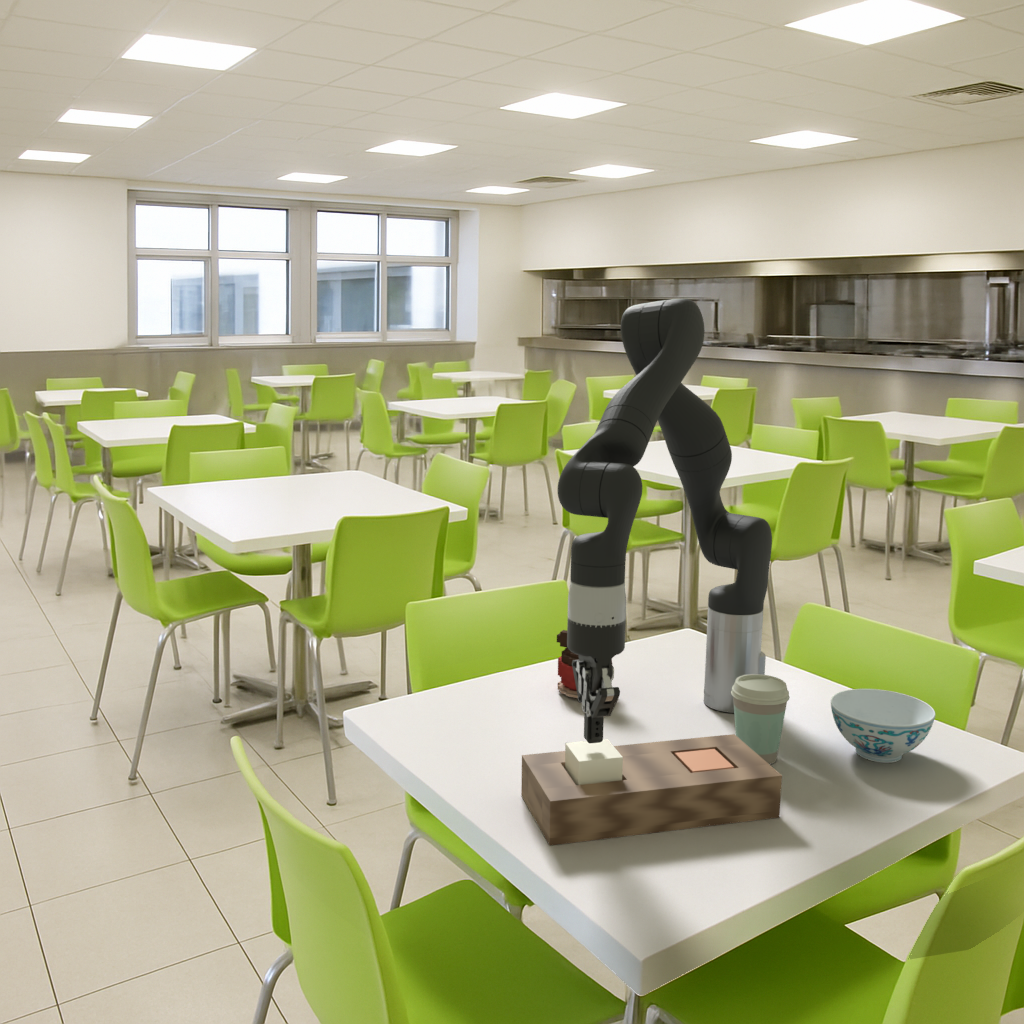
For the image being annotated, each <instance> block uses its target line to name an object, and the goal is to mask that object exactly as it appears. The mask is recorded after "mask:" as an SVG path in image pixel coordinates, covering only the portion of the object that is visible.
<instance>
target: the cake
mask: <svg viewBox="0 0 1024 1024" xmlns="http://www.w3.org/2000/svg"><path fill="white" fill-rule="evenodd" d="M556 643H559V647H562V648H564V649H563V650H561V655H560V656H559V657H558V658H557V676H559V678H560V681H558V682H557V690H558V691H559V692H560V693H561V694H564V695H565V696H566V697H571V698H574V699H575V698H576V699H578V695H577V690H576V684H575V678H574V673H573V667H572V661H573V660H579V655H577V654H575V653H573V652H571V651H570V650H569V649H568V647H567V629H566V630H565V629H563V630H561V631H560V632H559V633H557V634H556ZM611 661H612V662H613V659H612V660H611Z"/></svg>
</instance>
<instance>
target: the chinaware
mask: <svg viewBox="0 0 1024 1024" xmlns="http://www.w3.org/2000/svg"><path fill="white" fill-rule="evenodd" d="M830 707H831V713H832V717H833V720H834V723H835V726H836V728H837V729H838V731H839V733H840V734H841V735H842V737H843V738H844V739H845V740H846V741H847V743H849V744H850V745H851V746H852V747H854V748H855V753H856V752H857V753H856V754H857V755H858V756H859V755H860V756H859V757H861V758H863V759H865V760H867V759H868V761H872V762H876V763H886V764H887V763H888V764H890V763H891V764H892V763H895V762H898V761H901V760H902V758H903V755H905V754H908V753H909V752H911V751H913V750H914V749H916V748H917V747H918V746H919V745H921V744H922V743H923V742H924V741H925V739H926V738H927V736H928V735H929V733H930V732H931V729H932V727H933V725H934V721H935V719H936V711H935V709H934V708H933V707H932V706H931V705H930V704H929V703H927V702H925V701H923V700H921V699H919V698H917V697H915V696H911V695H908V694H905V693H902V692H897V691H892V690H885V689H878V688H855V689H847V690H843V691H839V692H837V693H835V694H833V696H832V697H831V698H830Z"/></svg>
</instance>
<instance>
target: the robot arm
mask: <svg viewBox="0 0 1024 1024" xmlns="http://www.w3.org/2000/svg"><path fill="white" fill-rule="evenodd" d="M620 335H621V336H620V337H621V340H622V341H621V342H622V345H623V348H624V352H625V353H626V356H627V358H628V361H629V363H630V366H631V367H632V370H633V371H634V373H635V376H634V377H633V378H631V379H630V380H629V381H628V382H627V383H626V384H624V386H622V387H621V388H620V389H619V390H617V392H616V393H615V394H614V396H613V397H612V398H611V400H610V401H609V402H608V404H607V405H606V408H605V409H604V412H603V413H602V417H601V418H600V420H599V423H598V425H597V428H596V429H595V432H594V434H592V436H591V437H589V439H588V440H587V441H586V442H584V444H583V445H582V446H581V447H580V448H579V449H578V450H577V451H576V452H575V453H574V455H573V456H571V458H570V459H569V460H568V461H567V462H566V464H565V465H564V467H563V469H562V471H561V473H560V476H559V479H558V483H557V496H558V497H557V498H558V501H559V503H560V505H561V506H562V508H563V509H564V510H565V511H566V512H568V513H569V514H573V515H577V516H585V517H587V516H588V517H596V518H605V519H607V525H606V526H605V529H604V530H603V531H598V532H597V531H596V532H588V533H583V534H580V535H577V536H576V537H575V538H574V539H573V540H572V542H571V546H570V547H571V549H570V578H569V580H570V583H569V589H568V595H567V625H566V627H567V628H566V630H567V647H568V649H569V650H570V651H571V652H573V653H575V654H577V655H579V660H573V661H572V667H573V673H574V678H575V684H576V690H577V695H578V698H577V701H578V703H579V704H581V710H582V712H583V714H584V715H583V717H584V719H583V739H585V741H587V742H588V743H600V742H602V740H603V739H604V718H605V717H611V716H612V713H613V711H614V709H615V706H616V704H617V702H618V700H619V697H620V695H621V691H620V687H618V686H614V687H613V685H612V682H613V680H614V678H615V668H614V665H613V659H614V658H615V656H617V655H620V654H622V653H623V652H624V651H625V647H626V646H625V645H626V626H627V625H626V624H627V623H626V622H627V621H626V618H627V592H626V560H627V559H626V558H627V548H628V543H629V539H630V536H631V535H630V534H631V532H632V527H633V524H634V521H635V518H636V515H637V512H638V509H639V505H640V503H641V501H642V497H643V496H642V495H643V480H642V478H641V476H640V473H639V471H638V470H637V469H636V467H635V466H636V465H638V464H639V463H640V462H641V460H642V459H643V457H644V454H645V453H646V449H647V447H648V445H649V442H650V439H651V437H652V434H653V432H654V430H655V427H656V424H657V423H658V424H659V427H660V429H661V432H662V436H663V438H664V441H665V444H666V448H667V450H668V453H669V456H670V459H671V461H672V464H673V465H674V468H675V470H676V473H677V475H678V478H679V480H680V482H681V485H682V489H683V491H684V494H685V497H686V499H687V502H688V506H689V509H690V513H691V517H692V521H693V526H694V530H695V533H696V537H697V542H698V544H699V548H700V551H701V553H702V555H703V557H704V558H705V559H706V561H708V563H710V564H712V565H714V566H716V567H717V566H718V567H723V568H726V569H732V570H737V571H736V572H737V573H736V578H735V582H733V583H727V584H722V585H718V586H715V587H713V588H711V589H710V591H709V593H708V597H707V598H708V599H707V600H708V601H707V621H706V622H707V623H706V624H707V625H706V643H705V645H706V647H705V664H704V666H705V668H704V685H703V686H704V688H703V702H704V705H706V706H707V707H708V708H711V709H713V710H716V711H719V712H724V713H733V714H734V700H733V695H732V694H731V691H732V687H733V685H734V683H735V680H736V679H737V678H738V677H740V676H742V675H748V674H761V675H766V673H765V672H766V661H767V660H766V658H767V657H766V653H765V652H763V651H762V640H763V621H764V605H765V600H766V594H767V591H768V584H769V574H770V565H771V555H772V549H773V548H772V546H773V540H772V539H773V533H772V529H771V526H770V524H769V522H768V521H767V520H766V519H764V518H761V517H757V516H751V515H746V514H745V515H744V514H737V513H732V512H729V511H728V510H727V509H726V507H725V505H724V503H723V501H722V497H721V493H720V492H721V489H722V487H723V484H724V482H725V480H726V478H727V477H728V476H727V475H728V473H729V470H730V468H731V464H732V459H733V458H732V457H733V455H732V453H733V452H732V447H731V444H730V441H729V439H728V435H727V433H726V430H725V426H724V424H723V422H722V420H721V419H722V418H721V417H720V416H719V415H718V413H717V412H716V411H715V410H714V409H713V408H712V407H711V406H710V405H709V404H708V403H707V402H705V401H704V400H703V399H702V398H701V397H700V396H698V395H697V394H696V393H694V392H693V391H692V390H690V389H689V388H688V387H687V386H686V385H684V383H682V381H683V380H684V379H685V377H686V375H687V374H688V373H689V371H690V370H691V368H692V366H693V365H694V363H695V362H696V360H697V359H698V357H699V355H700V353H701V350H702V349H703V345H704V340H705V322H704V316H703V314H702V312H701V309H700V307H699V306H698V304H697V303H696V302H695V301H694V300H691V299H689V298H672V299H671V298H670V299H663V300H657V301H650V302H642V303H638V304H633V305H632V306H631V305H630V306H629V307H627V308H626V309H625V311H624V312H623V314H622V316H621V320H620ZM567 647H566V648H567ZM611 660H612V661H611Z"/></svg>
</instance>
